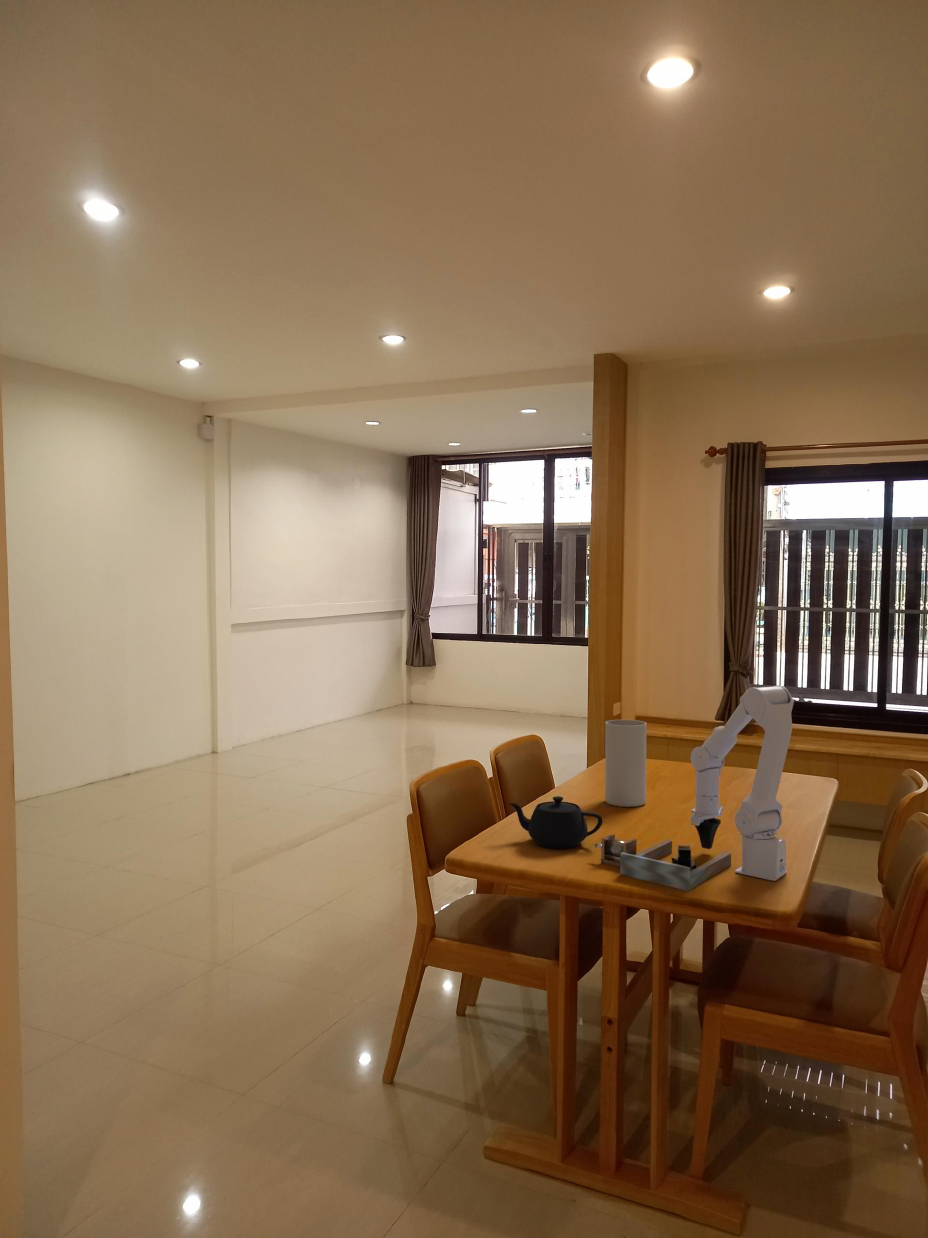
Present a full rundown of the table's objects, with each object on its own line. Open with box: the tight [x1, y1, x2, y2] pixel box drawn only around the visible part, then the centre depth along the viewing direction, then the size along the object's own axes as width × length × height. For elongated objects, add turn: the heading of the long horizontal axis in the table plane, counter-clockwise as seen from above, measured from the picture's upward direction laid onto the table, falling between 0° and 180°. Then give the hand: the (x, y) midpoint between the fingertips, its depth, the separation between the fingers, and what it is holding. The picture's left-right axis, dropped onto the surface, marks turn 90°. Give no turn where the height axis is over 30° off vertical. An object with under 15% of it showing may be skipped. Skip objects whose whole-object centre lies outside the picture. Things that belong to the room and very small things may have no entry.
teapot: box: [508, 795, 604, 850], centre depth 227 cm, size 25×16×12 cm, turn 74°
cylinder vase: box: [604, 719, 647, 808], centre depth 269 cm, size 12×12×25 cm
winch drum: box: [594, 833, 637, 868], centre depth 211 cm, size 9×5×6 cm, turn 50°
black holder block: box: [671, 844, 697, 871], centre depth 210 cm, size 12×7×5 cm, turn 169°
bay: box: [619, 839, 732, 892], centre depth 205 cm, size 17×23×5 cm
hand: (706, 848), depth 218 cm, fingers closed
